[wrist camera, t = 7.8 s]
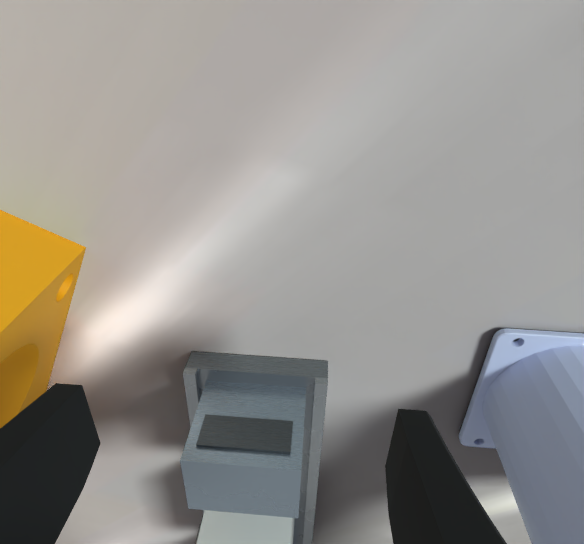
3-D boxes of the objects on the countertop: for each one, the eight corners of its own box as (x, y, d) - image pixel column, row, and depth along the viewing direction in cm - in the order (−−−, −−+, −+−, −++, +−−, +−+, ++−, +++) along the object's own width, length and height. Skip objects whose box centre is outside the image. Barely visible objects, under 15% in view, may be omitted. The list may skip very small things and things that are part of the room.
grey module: (295, 464, 25) (288, 564, 20) (294, 522, 28) (287, 619, 23) (214, 458, 25) (189, 555, 21) (221, 516, 28) (201, 611, 24)
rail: (327, 360, 22) (327, 461, 17) (308, 559, 33) (305, 656, 28) (191, 351, 22) (153, 446, 18) (216, 550, 33) (197, 645, 28)
